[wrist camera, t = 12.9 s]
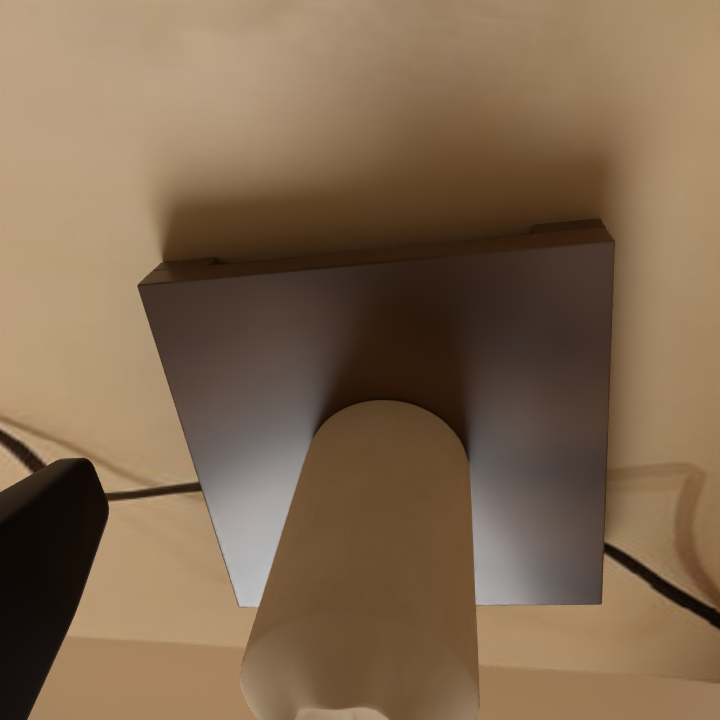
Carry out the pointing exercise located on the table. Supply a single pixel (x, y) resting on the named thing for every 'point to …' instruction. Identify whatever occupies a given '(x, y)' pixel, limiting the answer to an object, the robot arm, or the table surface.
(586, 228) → the dark wooden base block
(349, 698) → the candle
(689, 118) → the table surface
